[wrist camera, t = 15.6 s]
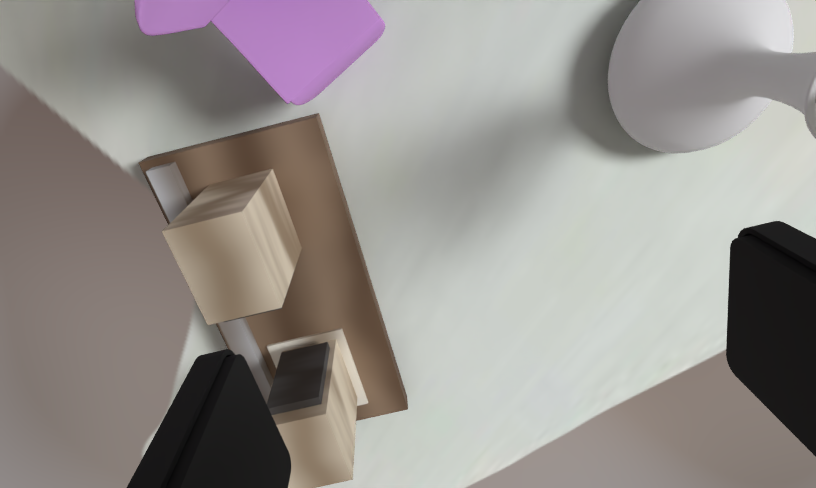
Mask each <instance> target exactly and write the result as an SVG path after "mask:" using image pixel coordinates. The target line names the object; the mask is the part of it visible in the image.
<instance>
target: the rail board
mask: <svg viewBox="0 0 816 488" xmlns="http://www.w3.org/2000/svg"><path fill="white" fill-rule="evenodd" d="M139 165H140V167H141V169H142V171H143V173H144V175H145V177H146V179H147V181H148V184H149V186H150V188H151V190H152V192H153V194H154V196H155V198H156V200H157V202H158V204H159V206H160V208H161V211H162V213H163V215H164V217H165V219H166V221H167V223H168V226H167V227H166V228H165V229H164V230H163V231H162V233H163V235H164V237H165V239H166V241H167V243H168V245H169V247H170V249H171V251H172V253H173V255H174V258H175V260H176V262H177V264H178V266H179V268H180V270H181V272H182V274H183V276H184V278H185V280H186V282H187V284H188V285H189V288H190V290H191V292H192V294H193V296H194V298H195V300H196V302H197V304H198V306H199V308H200V311H201V313H202V315H203V317H204V319H205V321H206V323H207V325H211V324H215V323H216V325H217V327H218V329H219V331H220V333H221V335H222V337H223V339H224V341H225V343H226V346H227V348H228V349H229V350H232V351H233V352H234V354H235V355H237V354H241V355H242V356H244V358H245V360H246V361H247V364H248V366H249V368H250V370H251V372H252V374H253V376H254V379H255V381H256V383H257V385H258V387H259V389H260V391H261V393H262V396H263V398H264V400H265V402H266V403H267V400H268V396H269V393H270V390H271V386H272V383H273V379H274V376H275V373H276V369H277V366H278V362H279V359H280V356H281V352H283V351H287V350H292V349H296V348H300V347H305V346H309V345H313V344H318V343H322V342H326V341H331V340H335V339H336V340H337V343H338V346H339V348H340V351H341V354H342V357H343V359H344V362H345V365H346V368H347V370H348V373H349V376H350V379H351V381H352V384H353V387H354V390H355V392H356V395H357V414H356V421H357V420H362V419H366V418H371V417H375V416H380V415H384V414H389V413H393V412H398V411H402V410H407V409H408V403H407V395H406V392H405V389H404V386H403V382H402V379H401V376H400V373H399V369H398V366H397V363H396V360H395V357H394V353H393V350H392V347H391V344H390V340H389V337H388V334H387V331H386V328H385V324H384V321H383V318H382V315H381V311H380V308H379V305H378V302H377V299H376V295H375V292H374V289H373V286H372V283H371V279H370V276H369V273H368V270H367V266H366V263H365V260H364V257H363V254H362V250H361V247H360V244H359V241H358V237H357V234H356V231H355V228H354V225H353V221H352V218H351V215H350V212H349V208H348V205H347V202H346V199H345V196H344V192H343V189H342V186H341V183H340V180H339V176H338V173H337V170H336V167H335V163H334V160H333V157H332V154H331V151H330V147H329V144H328V141H327V138H326V134H325V131H324V128H323V125H322V122H321V118H320V115H319V113H317V114H314V115H310V116H306V117H302V118H298V119H294V120H290V121H286V122H282V123H279V124H275V125H271V126H267V127H263V128H259V129H255V130H251V131H247V132H243V133H240V134H236V135H232V136H228V137H224V138H220V139H216V140H212V141H208V142H204V143H201V144H197V145H193V146H189V147H185V148H181V149H177V150H173V151H169V152H165V153H162V154H158V155H154V156H150V157H147V158H146V159H144V160H142V161H141V162H139Z"/></svg>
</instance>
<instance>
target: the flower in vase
mask: <svg viewBox="0 0 816 488" xmlns="http://www.w3.org/2000/svg"><path fill="white" fill-rule="evenodd" d="M793 42H794V28H793V21H792V16H791V12H790V9H789V6H788V4H787V2H786V0H640V1H639V2H638V4H637V5H636V6H635V8H634V9H633V10H632V12H631V13H630V14H629V16H628V18H627V19H626V21H625V22H624V24H623V26H622V28H621V30H620V32H619V34H618V36H617V38H616V41H615V44H614V47H613V50H612V53H611V58H610V62H609V70H608V91H609V98H610V102H611V105H612V109H613V112H614V114H615V116H616V118H617V120H618V122H619V123H620V125H621V126H622V128H623V129H624V130H625V131H626V132H627V133H628V134H629V135H630V136H631V137H632V138H633V139H634V140H636V141H637V142H638V143H640V144H642V145H644V146H646V147H648V148H651V149H653V150H656V151H661V152H666V153H688V152H693V151H698V150H703V149H707V148H710V147H713V146H716V145H718V144H721V143H723V142H725V141H727V140H729V139H731V138H732V137H734V136H736V135H737V134H739V133H740V132H741V131H743V130H744V129H746V128H747V127H748V126H749V125H750V124H751V123H753V122H754V121H755V120H756V119H757V118H758V117H759V116H760V115H761V113H762V112H763V111H764V110H765V109H766V108H767V106H768V105H769V104H770V102H771V101H772V100H775V101H779V102H782V103H784V104H787V105H789V106H792V107H794V108H795V109H797V110H799V111H800V112H802V113H803V114H804V115H805V121H806V124H807V127H808V129H809V131H810V132H811V134H812V135H813V136H814V137H815V138H816V52H811V53H792V50H793Z"/></svg>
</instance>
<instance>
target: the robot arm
mask: <svg viewBox="0 0 816 488" xmlns="http://www.w3.org/2000/svg"><path fill="white" fill-rule="evenodd" d="M726 356H727V361H728V364H729V367H730V369H731V370H732V372H733V373H734V374H735V376H736V377H737V378H739V380H740V381H741V382H742V383H743V384H744V385H745V386H746V387H747V388H748V389H749V390H751V392H752V393H753V394H754V395H755V396H756V397H757V398H758V399H759V400H760V401H761V402H762V403H763V404H764V405H765V406H766V407H767V408H768V409H769V410H770V411H771V412H772V413H773V414H774V415H775V416H776V417H777V418H778V419H779V420H780V421H781V422H782V423H783V424H784V425H785V426H786V427H787V428H788V429H789V430H790V431H791V432H792V433H793V434H794V435H795V436H796V437H797V438H798V439H799V440H800V441H801V442H802V443H803V444H804V445H805V446H806V447H807V448H808V449H809V450H810V451H811V452H812V453H813V454H814V455H815V456H816V239H815V238H813V237H811V236H809V235H807V234H805V233H803V232H801V231H799V230H797V229H795V228H794V227H792V226H790V225H788V224H786V223H783V222H780V221H774V222H770V223H765V224H761V225H757V226H753V227H748V228H744V229H743V230H741V231H740V233H739V235H738V238H736V239H734V240H733V241H732V243H731V247H730V270H729V296H728V323H727V349H726ZM290 475H291V458H290V454H289V451H288V449H287V447H286V445H285V443H284V440H283V438H282V436H281V434H280V432H279V430H278V428H277V425H276V423H275V421H274V419H273V417H272V415H271V413H270V411H269V408H268V406H267V404H266V402H265V400H264V398H263V396H262V393H261V391H260V389H259V387H258V385H257V383H256V381H255V379H254V376H253V374H252V372H251V370H250V368H249V366H248V364H247V361H246V360H245V358H244V356H242V355H241V354H237V355H235V354H234V352H233V351H232V350H229V349H226V350H222V351H217V352H213V353H209V354H204V355H201V356H198V357H197V359H196V360H195V362H194V364H193V366H192V367H191V369H190V371H189V373H188V375H187V377H186V379H185V380H184V382H183V384H182V386H181V388H180V390H179V392H178V393H177V395H176V397H175V399H174V401H173V403H172V405H171V406H170V408H169V410H168V412H167V414H166V416H165V418H164V419H163V421H162V423H161V425H160V427H159V429H158V431H157V432H156V434H155V436H154V438H153V440H152V442H151V444H150V445H149V447H148V449H147V451H146V453H145V455H144V457H143V458H142V460H141V462H140V464H139V466H138V468H137V470H136V472H135V473H134V475H133V477H132V479H131V481H130V483H129V484H128V487H127V488H288V485H289V480H290Z"/></svg>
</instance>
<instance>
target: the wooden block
mask: <svg viewBox="0 0 816 488" xmlns="http://www.w3.org/2000/svg"><path fill="white" fill-rule="evenodd" d="M266 404H267V406H268V408H269V411H270V413H271V415H272V417H273V419H274V421H275V423H276V425H277V428H278V430H279V432H280V434H281V436H282V438H283V440H284V443H285V445H286V447H287V449H288V451H289V454H290V458H291V475H290V480H289V485H288V488H316V487H320V486H325V485H330V484H334V483H339V482H344V481H348V480H353V465H354V448H355V431H356V414H357V395H356V392H355V390H354V387H353V384H352V381H351V379H350V376H349V373H348V370H347V368H346V365H345V362H344V359H343V357H342V354H341V351H340V348H339V346H338V343H337V340H336V339H335V340H331V341H326V342H322V343H318V344H313V345H309V346H305V347H300V348H296V349H292V350H287V351H283V352H281V356H280V359H279V362H278V366H277V369H276V373H275V376H274V379H273V383H272V386H271V390H270V393H269V396H268V400H267V403H266Z"/></svg>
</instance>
